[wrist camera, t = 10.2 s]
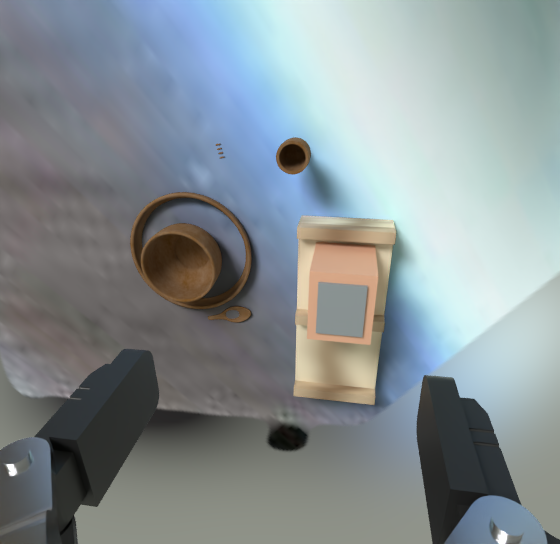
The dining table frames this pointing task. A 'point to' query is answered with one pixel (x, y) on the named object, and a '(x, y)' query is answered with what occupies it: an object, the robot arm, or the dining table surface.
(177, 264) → the place setting
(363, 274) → the frame block
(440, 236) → the dining table surface
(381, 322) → the light wooden ridged board
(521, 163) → the dining table surface
